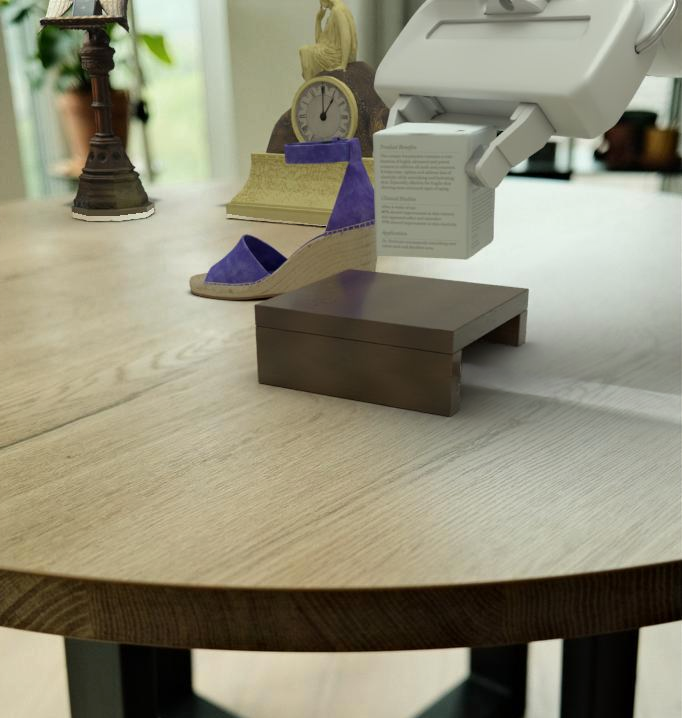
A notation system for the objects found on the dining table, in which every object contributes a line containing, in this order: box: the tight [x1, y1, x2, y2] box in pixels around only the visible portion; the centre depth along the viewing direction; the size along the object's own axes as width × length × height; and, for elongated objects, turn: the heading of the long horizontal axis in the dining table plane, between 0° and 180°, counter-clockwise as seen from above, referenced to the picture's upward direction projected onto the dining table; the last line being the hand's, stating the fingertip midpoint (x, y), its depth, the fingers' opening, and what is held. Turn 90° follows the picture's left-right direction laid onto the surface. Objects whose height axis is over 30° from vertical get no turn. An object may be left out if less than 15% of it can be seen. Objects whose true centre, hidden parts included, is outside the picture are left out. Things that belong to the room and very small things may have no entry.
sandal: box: [188, 137, 379, 301], centre depth 100 cm, size 8×20×15 cm, turn 68°
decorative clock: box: [225, 0, 390, 225], centre depth 138 cm, size 28×13×30 cm, turn 60°
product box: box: [373, 123, 498, 261], centre depth 63 cm, size 6×6×7 cm
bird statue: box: [37, 0, 156, 216], centre depth 140 cm, size 17×13×35 cm
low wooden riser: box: [253, 269, 530, 417], centre depth 78 cm, size 16×14×6 cm
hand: (427, 172), depth 62 cm, fingers closed on product box, 8 cm apart
